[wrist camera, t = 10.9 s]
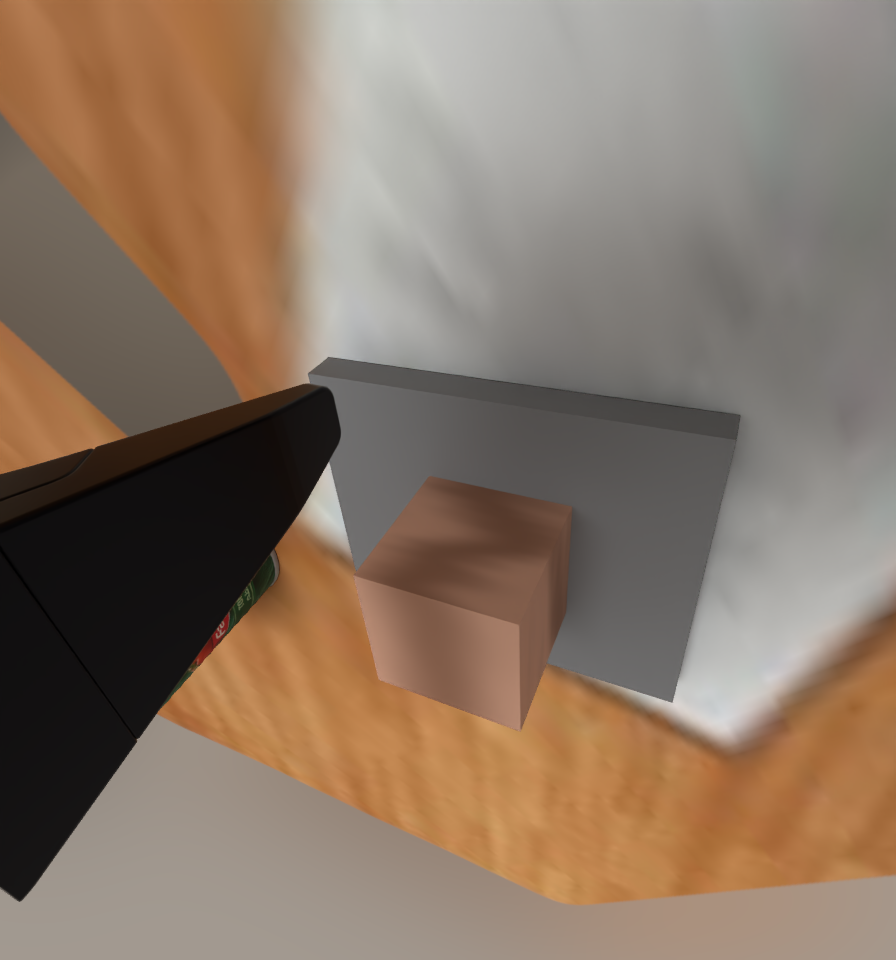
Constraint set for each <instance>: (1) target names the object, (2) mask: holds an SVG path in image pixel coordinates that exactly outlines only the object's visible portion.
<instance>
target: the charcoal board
mask: <svg viewBox="0 0 896 960" xmlns="http://www.w3.org/2000/svg"><path fill="white" fill-rule="evenodd" d="M308 376H309V380H310V384H315V385H321V386H326V387H328V388H329V389H330V390H331V391H332V393H333V395H334V399H335V404H336V409H337V413H338V418H339V422H340V427H341V438H340V442H339V444H338V446H337V448H336V450H335V452H334V453H333V455H332V457H331V459H330V460H329V462H330V466H331V470H332V475H333V479H334V483H335V487H336V491H337V495H338V499H339V503H340V507H341V511H342V516H343V520H344V524H345V528H346V532H347V536H348V540H349V544H350V548H351V553H352V557H353V561H354V565H355V569H356V572H357V570H358V569H359V568H360V566H361V565H362V564H363V562H364V561H365V560H366V558H367V557H368V556H369V554H370V553H371V552H372V551H373V549H374V548H375V547H376V545H377V544H378V543H379V541H380V540H381V539H382V537H383V536H384V535H385V533H386V532H387V531H388V529H389V528H390V527H391V526H392V524H393V523H394V522H395V520H396V519H397V518H398V516H399V515H400V514H401V512H402V511H403V510H404V508H405V507H406V506H407V505H408V503H409V502H410V501H411V499H412V498H413V497H414V495H415V494H416V493H417V491H418V490H419V489H420V487H421V486H422V485H423V484H424V482H425V481H426V480H427V478H428V477H429V476H433V477H437V478H442V479H447V480H451V481H456V482H461V483H465V484H470V485H475V486H479V487H484V488H488V489H493V490H498V491H502V492H507V493H512V494H516V495H521V496H526V497H530V498H535V499H540V500H544V501H549V502H554V503H558V504H563V505H567V506H572V519H571V536H570V554H569V571H568V588H567V606H566V614H565V616H564V619H563V622H562V624H561V627H560V630H559V632H558V635H557V637H556V640H555V643H554V645H553V648H552V651H551V653H550V656H549V658H548V661H547V663H548V664H551V665H555V666H558V667H561V668H564V669H567V670H570V671H574V672H577V673H580V674H583V675H586V676H589V677H593V678H596V679H599V680H602V681H605V682H608V683H612V684H615V685H618V686H621V687H624V688H628V689H631V690H634V691H637V692H640V693H643V694H647V695H650V696H653V697H656V698H659V699H662V700H666V701H669V702H672V703H673V698H674V694H675V690H676V686H677V682H678V678H679V674H680V670H681V666H682V661H683V657H684V653H685V649H686V645H687V641H688V637H689V633H690V629H691V624H692V620H693V616H694V612H695V608H696V604H697V600H698V596H699V592H700V587H701V583H702V579H703V575H704V571H705V567H706V563H707V559H708V555H709V551H710V546H711V542H712V538H713V534H714V530H715V526H716V522H717V518H718V514H719V509H720V505H721V501H722V497H723V493H724V489H725V485H726V481H727V477H728V472H729V468H730V464H731V460H732V456H733V452H734V448H735V444H736V439H737V433H738V426H739V420H740V415H733V414H726V413H719V412H712V411H705V410H697V409H690V408H683V407H676V406H669V405H662V404H655V403H648V402H641V401H634V400H627V399H619V398H612V397H605V396H598V395H591V394H584V393H577V392H570V391H563V390H556V389H549V388H541V387H534V386H527V385H520V384H513V383H506V382H499V381H492V380H485V379H478V378H471V377H463V376H456V375H449V374H442V373H435V372H428V371H421V370H414V369H407V368H400V367H393V366H385V365H378V364H371V363H364V362H357V361H350V360H343V359H336V358H329V357H328V358H327V359H326V360H325V361H323V362H322V363H321V364H319V365H318V366H317V367H316V368H314V369H313V370H312V371H311V372H309V373H308Z"/></svg>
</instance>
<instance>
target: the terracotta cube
mask: <svg viewBox="0 0 896 960" xmlns="http://www.w3.org/2000/svg"><path fill="white" fill-rule="evenodd" d="M571 519H572V506H567V505H563V504H558V503H554V502H549V501H544V500H540V499H535V498H530V497H526V496H521V495H516V494H512V493H507V492H502V491H498V490H493V489H488V488H484V487H479V486H475V485H470V484H465V483H461V482H456V481H451V480H447V479H442V478H437V477H433V476H429V477H428V478H427V480H426V481H425V482H424V484H423V485H422V486H421V487H420V489H419V490H418V491H417V493H416V494H415V495H414V497H413V498H412V499H411V501H410V502H409V503H408V505H407V506H406V507H405V508H404V510H403V511H402V512H401V514H400V515H399V516H398V518H397V519H396V520H395V522H394V523H393V524H392V526H391V527H390V528H389V529H388V531H387V532H386V533H385V535H384V536H383V537H382V539H381V540H380V541H379V543H378V544H377V545H376V547H375V548H374V549H373V551H372V552H371V553H370V554H369V556H368V557H367V558H366V560H365V561H364V562H363V564H362V565H361V566H360V568H359V569H358V570H357V572H356V573H355V574H354V575H353V576H354V580H355V584H356V588H357V592H358V597H359V601H360V605H361V609H362V613H363V617H364V621H365V625H366V629H367V633H368V637H369V641H370V645H371V650H372V654H373V658H374V662H375V666H376V670H377V674H378V678H379V680H381V681H384V682H387V683H389V684H392V685H395V686H397V687H400V688H403V689H406V690H408V691H411V692H414V693H417V694H419V695H422V696H425V697H427V698H430V699H433V700H436V701H438V702H441V703H444V704H447V705H449V706H452V707H455V708H457V709H460V710H463V711H466V712H468V713H471V714H474V715H477V716H479V717H482V718H485V719H487V720H490V721H493V722H496V723H498V724H501V725H504V726H507V727H509V728H512V729H515V730H517V731H520V732H521V729H522V726H523V724H524V721H525V719H526V716H527V713H528V711H529V708H530V705H531V703H532V700H533V698H534V695H535V692H536V690H537V687H538V685H539V682H540V679H541V677H542V674H543V671H544V669H545V666H546V664H547V661H548V658H549V656H550V653H551V651H552V648H553V645H554V643H555V640H556V637H557V635H558V632H559V630H560V627H561V624H562V622H563V619H564V616H565V614H566V606H567V588H568V571H569V554H570V536H571Z"/></svg>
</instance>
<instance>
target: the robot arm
mask: <svg viewBox="0 0 896 960" xmlns="http://www.w3.org/2000/svg"><path fill="white" fill-rule="evenodd" d="M340 438H341V427H340V422H339V418H338V413H337V409H336V404H335V399H334V395H333V393H332V391H331V390H330V389H329V388H328V387H326V386H321V385H315V384H302V385H299V386H296V387H292V388H289V389H286V390H282V391H279V392H276V393H272V394H269V395H266V396H263V397H259V398H256V399H253V400H249V401H246V402H243V403H240V404H236V405H233V406H230V407H226V408H223V409H220V410H216V411H213V412H210V413H206V414H203V415H200V416H197V417H194V418H190V419H187V420H183V421H180V422H177V423H173V424H171V425H167V426H164V427H160V428H157V429H154V430H150V431H147V432H144V433H140V434H137V435H134V436H131V437H127V438H124V439H121V440H117V441H114V442H111V443H107V444H104V445H101V446H98V447H96V448H95V449H87V450H84V451H81V452H77V453H74V454H71V455H68V456H64V457H61V458H57V459H54V460H50V461H47V462H43V463H40V464H37V465H33V466H30V467H26V468H22V469H19V470H15V471H11V472H7V473H4V474H0V889H1V890H3V891H4V892H6V893H7V894H9V895H10V896H12V897H13V898H14V899H16V900H17V901H19V902H20V901H22V900H23V899H24V898H25V896H26V895H27V894H28V893H29V892H30V891H31V889H32V888H33V887H34V886H35V884H36V883H37V882H38V880H39V879H40V877H41V876H42V875H43V873H44V872H45V870H46V869H47V868H48V866H49V865H50V863H51V862H52V861H53V859H54V858H55V856H56V855H57V853H58V852H59V851H60V849H61V848H62V846H63V845H64V844H65V842H66V841H67V840H68V838H69V837H70V835H71V834H72V833H73V831H74V830H75V828H76V827H77V825H78V824H79V823H80V821H81V820H82V819H83V817H84V816H85V814H86V813H87V811H88V810H89V809H90V807H91V806H92V804H93V803H94V802H95V800H96V799H97V797H98V796H99V795H100V793H101V792H102V790H103V789H104V788H105V786H106V785H107V783H108V782H109V780H110V779H111V778H112V776H113V775H114V774H115V772H116V771H117V769H118V768H119V766H120V765H121V764H122V762H123V761H124V760H125V758H126V757H127V755H128V754H129V752H130V751H131V750H132V748H133V747H134V745H135V744H136V743H137V739H138V738H140V736H141V735H142V734H143V732H144V731H145V729H146V728H147V727H148V725H149V724H150V722H151V721H152V720H153V718H154V717H155V715H156V714H157V713H158V711H159V710H160V708H161V707H162V706H163V704H164V703H165V701H166V700H167V699H168V697H169V696H170V694H171V693H172V692H173V690H174V689H175V687H176V686H177V685H178V683H179V682H180V680H181V679H182V678H183V676H184V675H185V673H186V672H187V670H188V669H189V668H190V666H191V665H192V663H193V662H194V661H195V659H196V658H197V656H198V655H199V654H200V652H201V651H202V649H203V648H204V647H205V645H206V644H207V642H208V641H209V640H210V638H211V637H212V635H213V634H214V633H215V631H216V630H217V628H218V627H219V626H220V624H221V623H222V621H223V620H224V619H225V617H226V616H227V614H228V613H229V612H230V610H231V609H232V607H233V606H234V605H235V603H236V602H237V600H238V599H239V598H240V596H241V595H242V593H243V592H244V591H245V589H246V588H247V586H248V585H249V584H250V582H251V581H252V579H253V578H254V577H255V575H256V574H257V572H258V571H259V570H260V568H261V567H262V565H263V564H264V562H265V561H266V560H267V558H268V557H269V555H270V554H271V553H272V551H273V550H274V548H275V547H276V546H277V544H278V543H279V541H280V540H281V539H282V537H283V536H284V534H285V533H286V532H287V530H288V529H289V527H290V526H291V525H292V523H293V522H294V520H295V519H296V517H297V516H298V514H299V513H300V511H301V510H302V508H303V506H304V505H305V503H306V501H307V499H308V498H309V496H310V494H311V492H312V491H313V489H314V487H315V485H316V483H317V482H318V480H319V478H320V476H321V475H322V473H323V471H324V469H325V468H326V466H327V464H328V462H329V460H330V459H331V457H332V455H333V453H334V452H335V450H336V448H337V446H338V444H339V442H340Z"/></svg>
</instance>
